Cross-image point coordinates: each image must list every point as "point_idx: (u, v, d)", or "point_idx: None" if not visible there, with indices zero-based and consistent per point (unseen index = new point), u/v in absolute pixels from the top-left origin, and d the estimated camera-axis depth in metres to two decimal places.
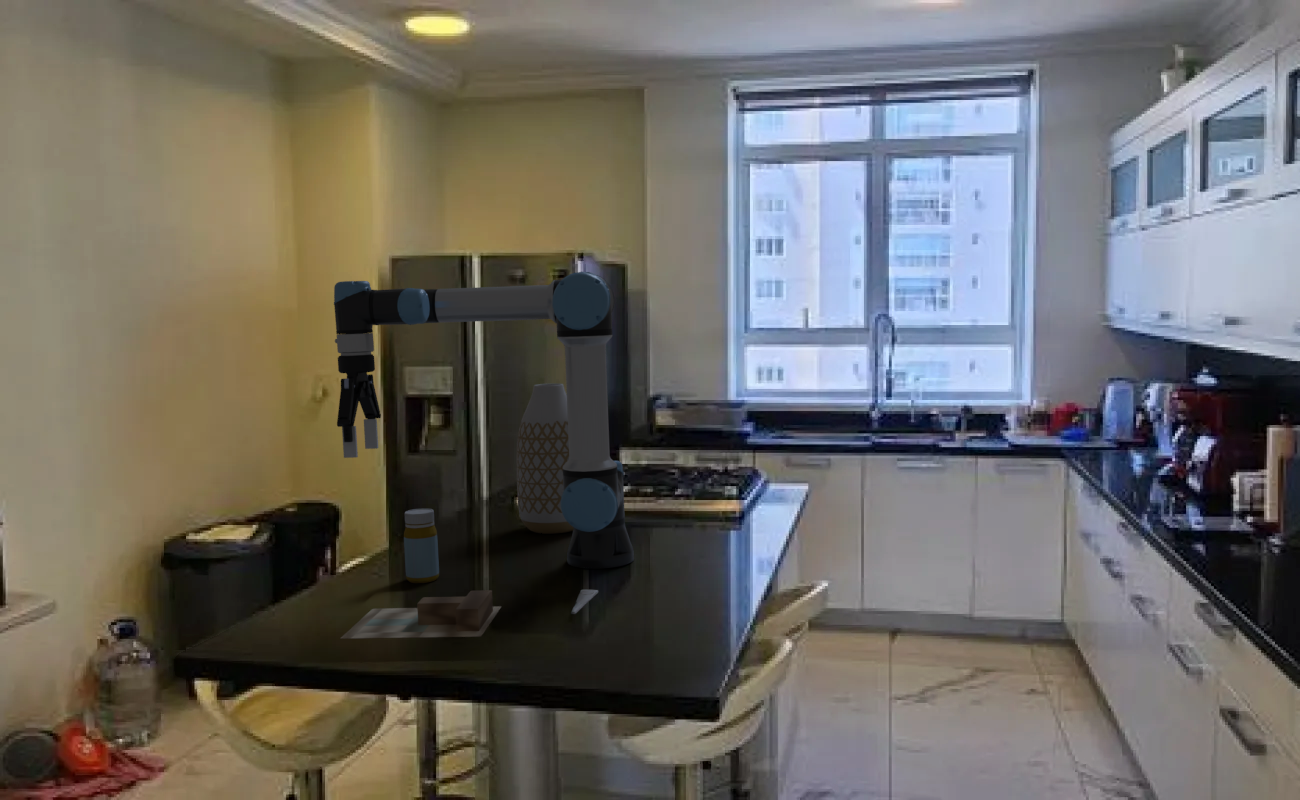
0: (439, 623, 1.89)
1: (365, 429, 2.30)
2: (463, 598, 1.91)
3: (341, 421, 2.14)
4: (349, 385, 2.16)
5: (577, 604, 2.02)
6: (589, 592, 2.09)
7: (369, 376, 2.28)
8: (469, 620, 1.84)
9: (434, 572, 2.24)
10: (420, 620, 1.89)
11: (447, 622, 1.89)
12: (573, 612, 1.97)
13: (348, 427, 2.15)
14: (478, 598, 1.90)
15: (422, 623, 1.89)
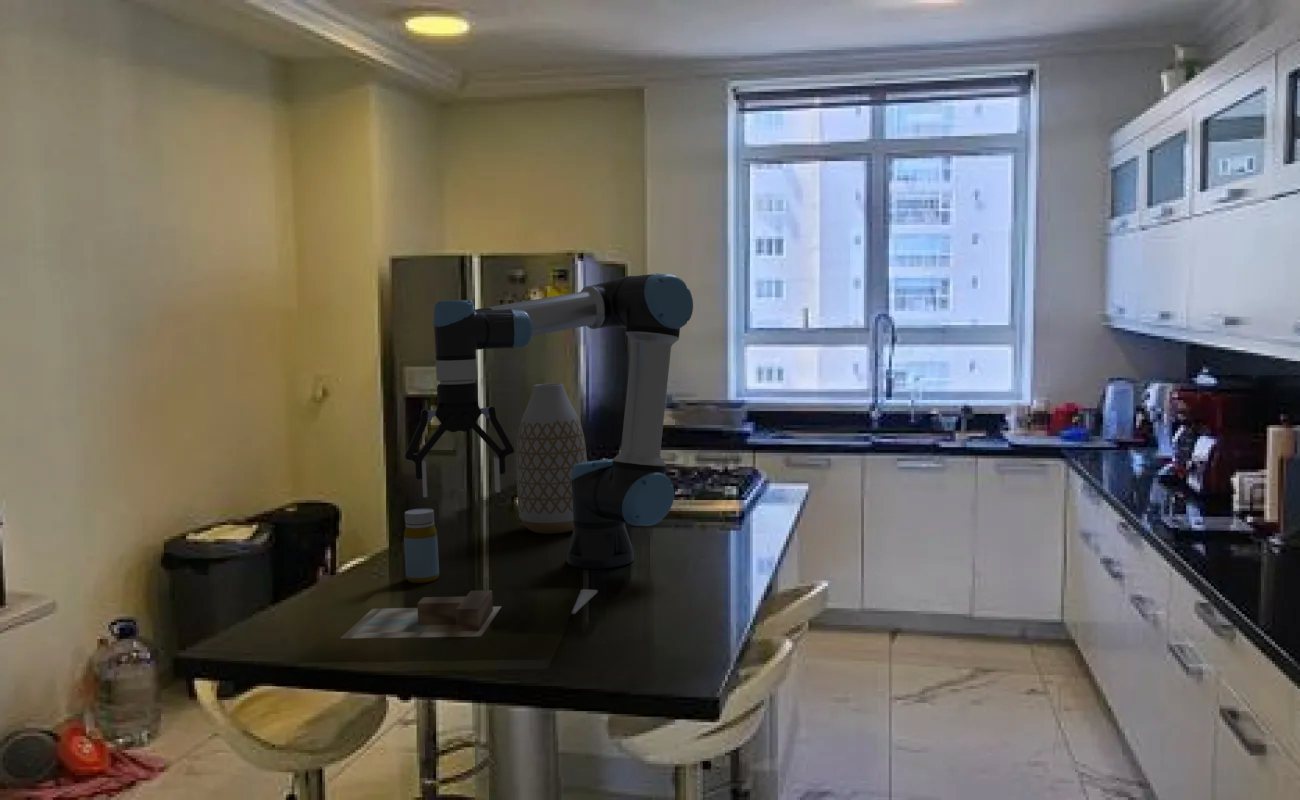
0: (439, 623, 1.89)
1: (494, 468, 2.01)
2: (463, 598, 1.91)
3: (405, 455, 1.96)
4: (421, 417, 1.95)
5: (576, 604, 2.02)
6: (588, 592, 2.09)
7: (488, 408, 1.98)
8: (469, 620, 1.84)
9: (434, 572, 2.24)
10: (420, 620, 1.89)
11: (447, 622, 1.89)
12: (572, 612, 1.97)
13: (415, 463, 1.96)
14: (478, 598, 1.90)
15: (422, 623, 1.89)
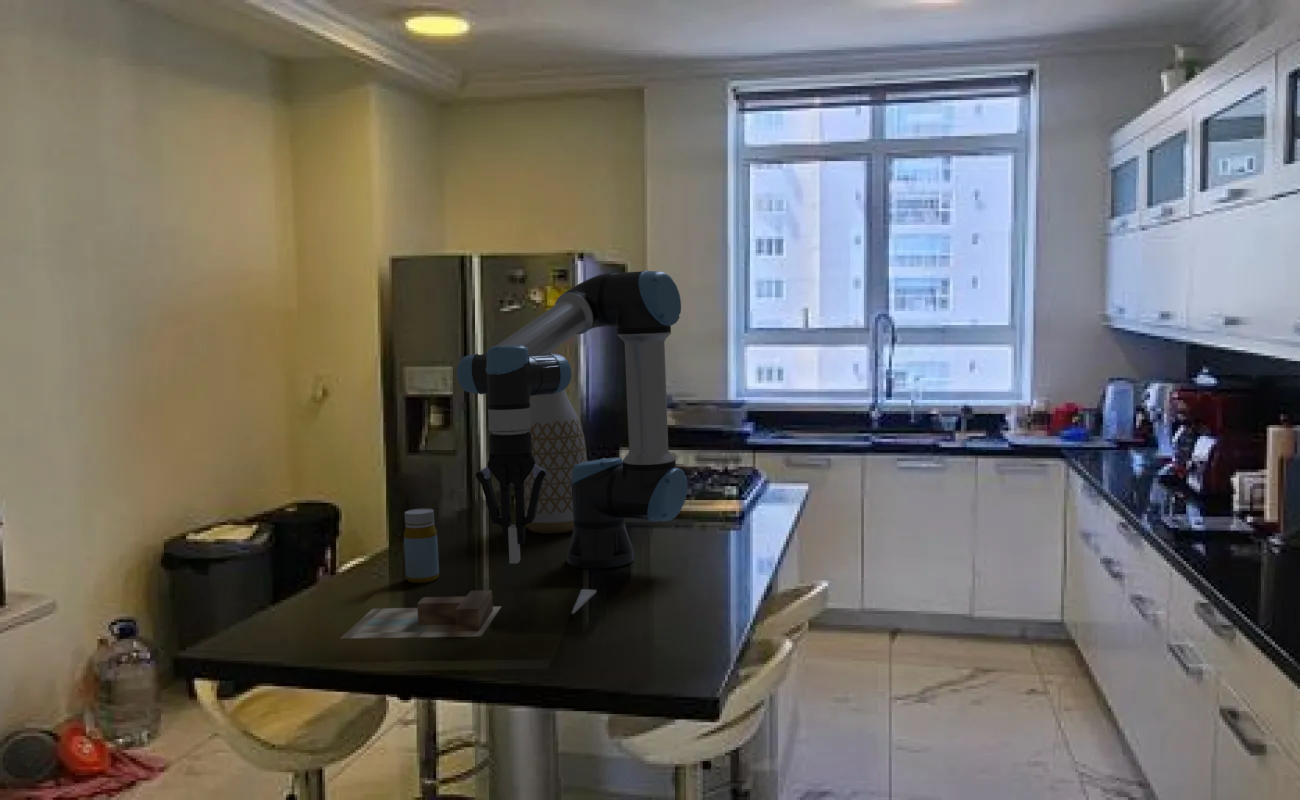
0: (439, 623, 1.89)
1: None
2: (463, 598, 1.91)
3: None
4: None
5: (575, 604, 2.02)
6: (587, 592, 2.09)
7: (540, 470, 1.86)
8: (469, 620, 1.84)
9: (434, 572, 2.24)
10: (420, 620, 1.89)
11: (447, 622, 1.89)
12: (571, 612, 1.97)
13: None
14: (478, 598, 1.90)
15: (422, 623, 1.89)
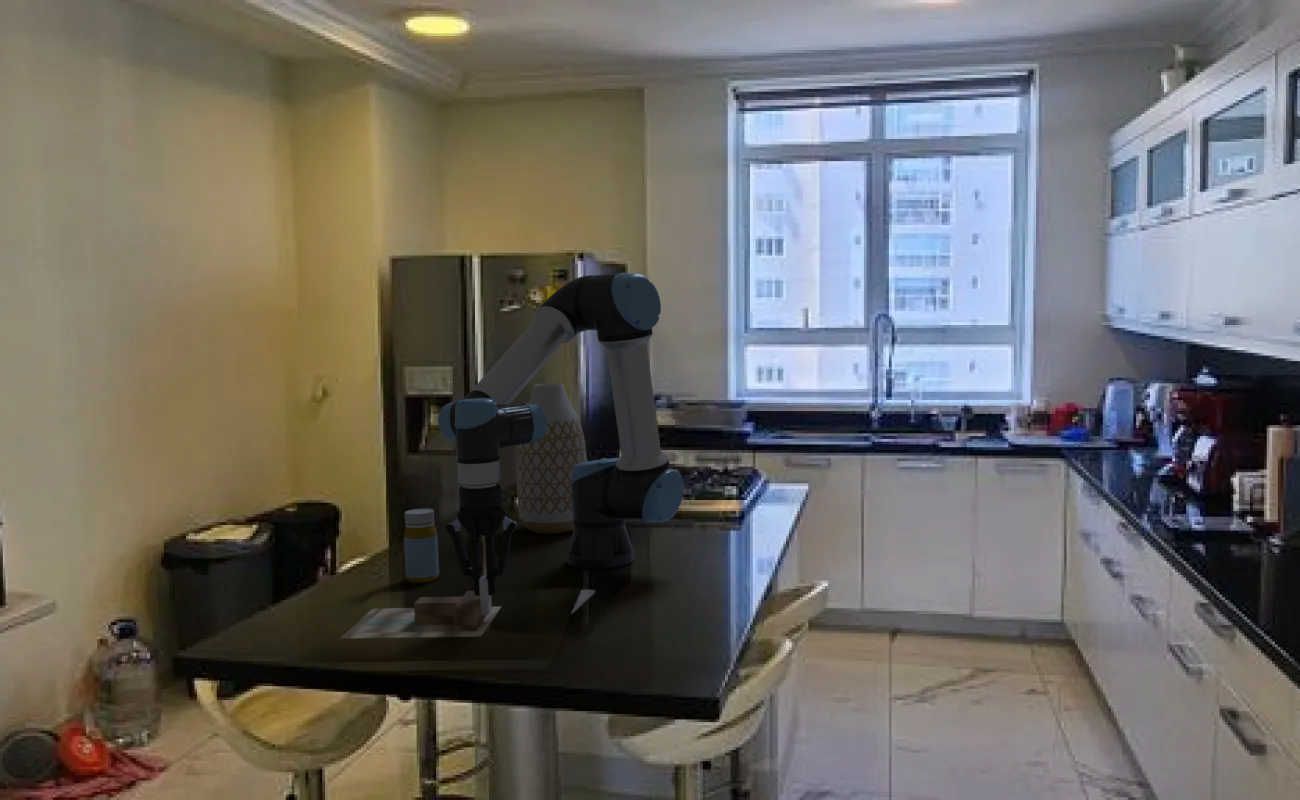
0: (436, 623, 1.89)
1: None
2: (460, 598, 1.91)
3: None
4: None
5: None
6: (586, 592, 2.09)
7: (510, 523, 1.88)
8: (466, 620, 1.84)
9: (434, 572, 2.24)
10: (417, 620, 1.89)
11: (444, 622, 1.89)
12: None
13: None
14: (475, 598, 1.90)
15: (419, 623, 1.89)
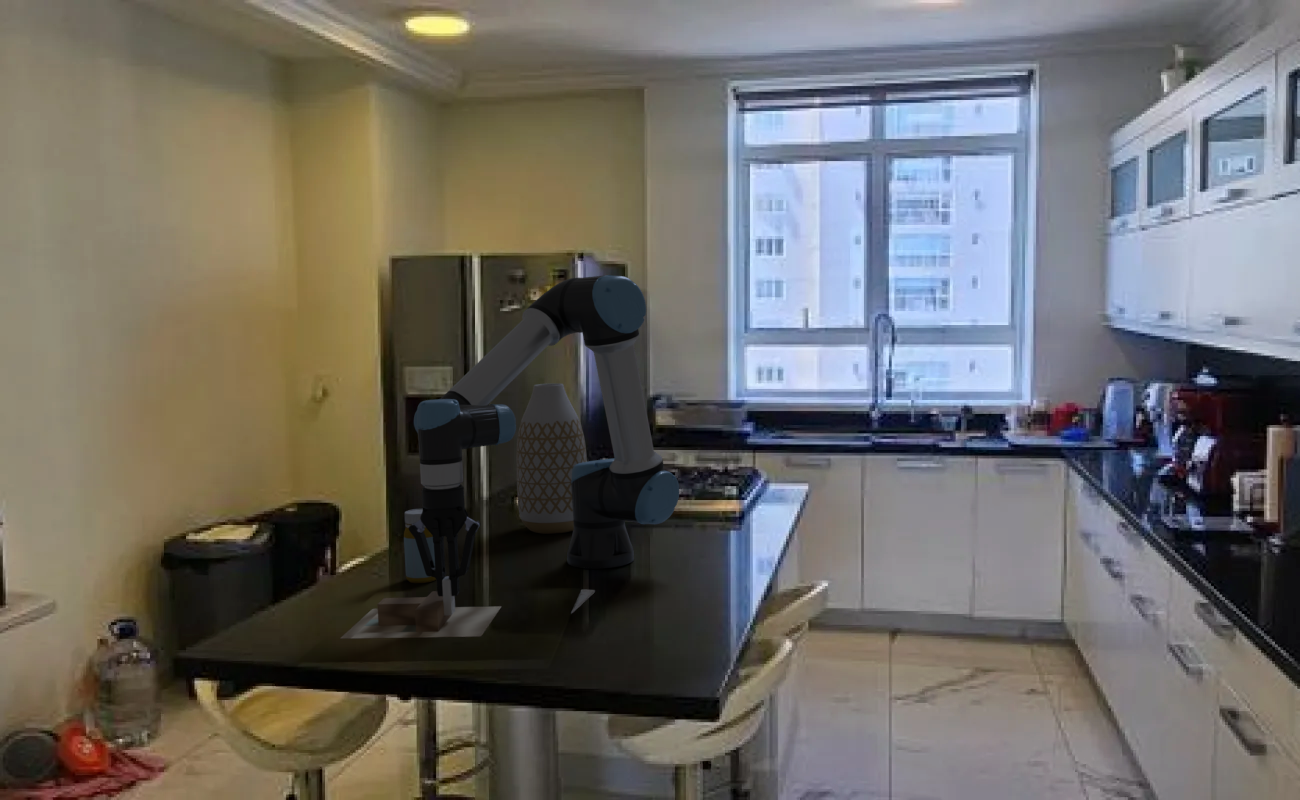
0: (399, 624, 1.89)
1: None
2: (424, 598, 1.92)
3: None
4: None
5: None
6: (585, 592, 2.09)
7: (473, 523, 1.88)
8: (428, 621, 1.85)
9: None
10: (380, 621, 1.89)
11: (407, 623, 1.89)
12: None
13: None
14: (439, 599, 1.91)
15: (382, 624, 1.89)
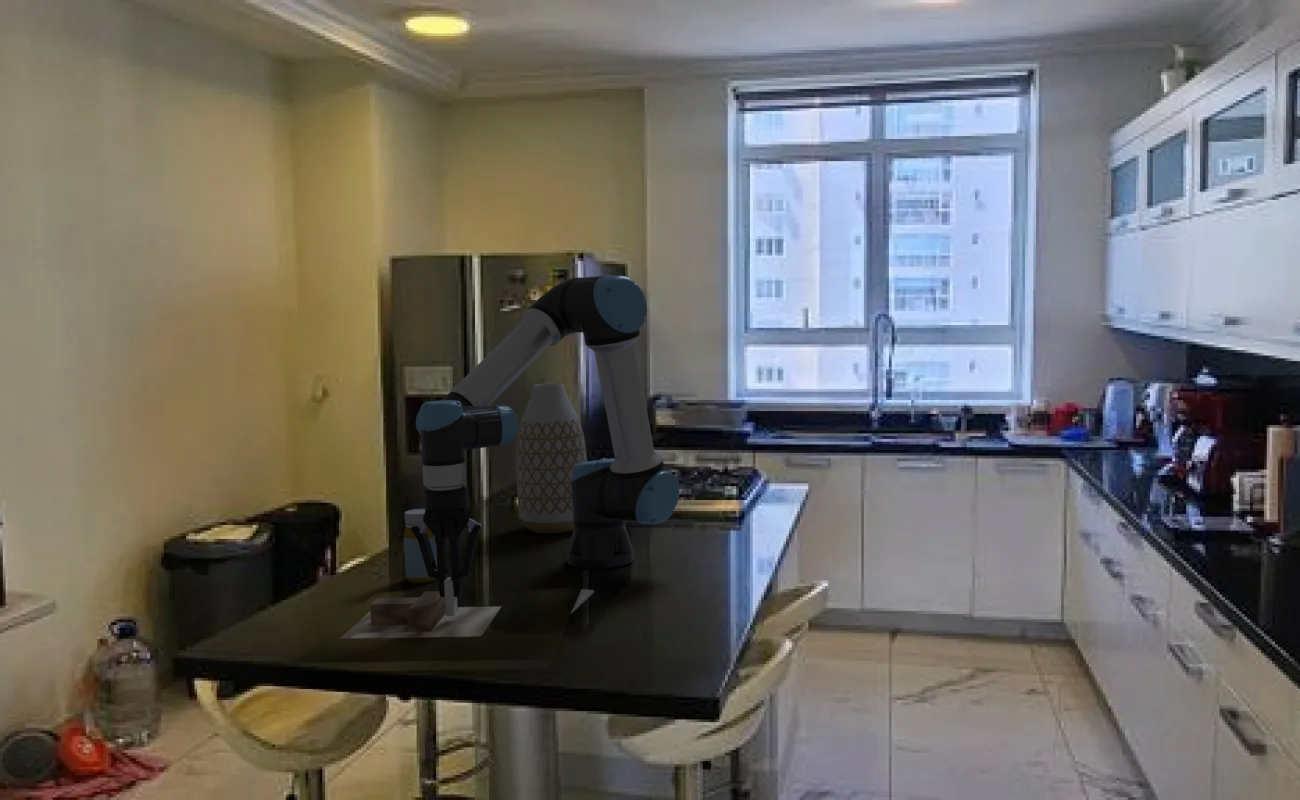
0: (392, 624, 1.89)
1: None
2: (416, 599, 1.92)
3: None
4: None
5: None
6: (585, 592, 2.09)
7: (475, 524, 1.88)
8: (421, 621, 1.85)
9: None
10: (373, 621, 1.89)
11: (400, 623, 1.89)
12: None
13: None
14: (431, 599, 1.91)
15: (375, 624, 1.89)
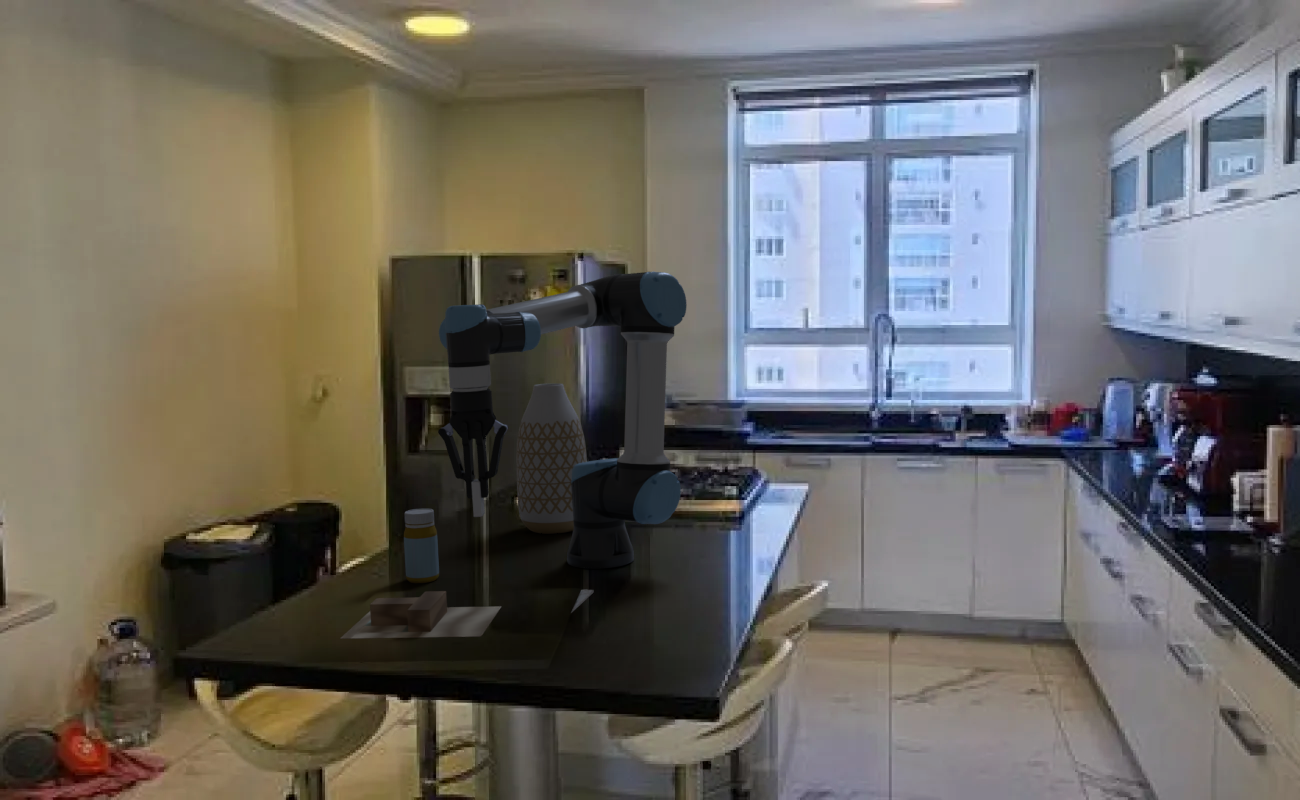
0: (392, 624, 1.89)
1: None
2: (416, 599, 1.92)
3: None
4: None
5: None
6: (584, 592, 2.09)
7: (501, 426, 1.91)
8: (421, 621, 1.85)
9: (434, 572, 2.24)
10: (373, 621, 1.89)
11: (400, 623, 1.89)
12: None
13: None
14: (431, 599, 1.91)
15: (375, 624, 1.89)
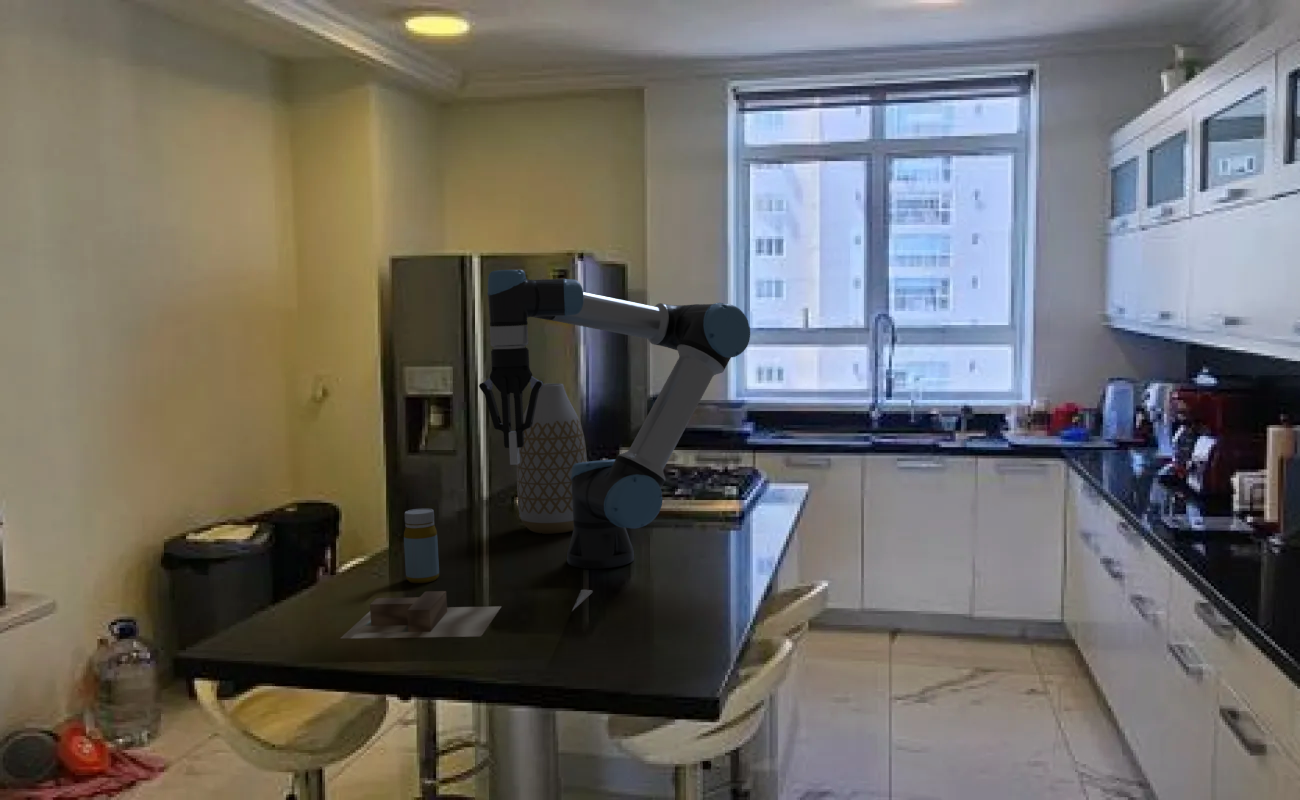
0: (392, 624, 1.89)
1: None
2: (416, 599, 1.92)
3: None
4: None
5: None
6: (583, 592, 2.09)
7: (537, 381, 2.09)
8: (421, 621, 1.85)
9: (434, 572, 2.24)
10: (373, 621, 1.89)
11: (400, 623, 1.89)
12: None
13: None
14: (431, 599, 1.91)
15: (375, 624, 1.89)
